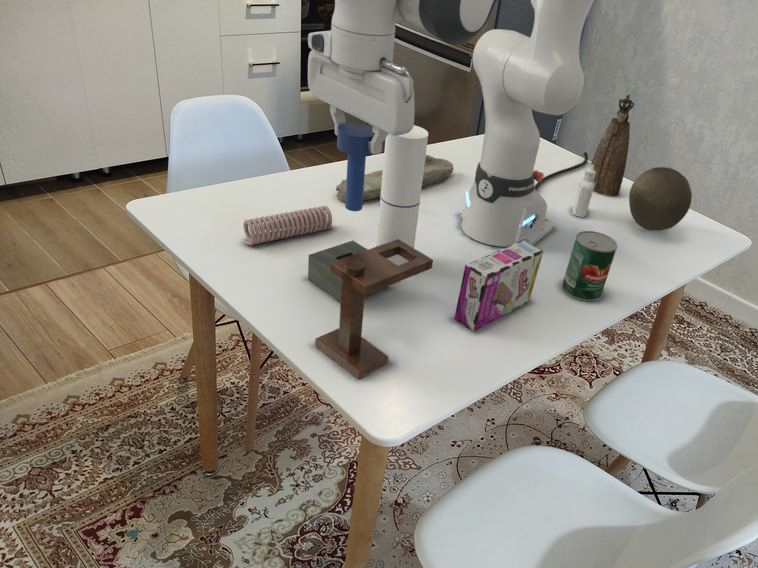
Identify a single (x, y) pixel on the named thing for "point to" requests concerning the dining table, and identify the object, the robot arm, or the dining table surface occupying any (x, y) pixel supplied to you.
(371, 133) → the peg
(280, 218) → the coil
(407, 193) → the cylindrical container
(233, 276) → the dining table surface
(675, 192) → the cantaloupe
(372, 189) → the elongated rock
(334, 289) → the holder
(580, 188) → the eye dropper bottle
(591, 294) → the canned tomato
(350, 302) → the stand
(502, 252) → the candy bar box
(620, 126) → the statue
